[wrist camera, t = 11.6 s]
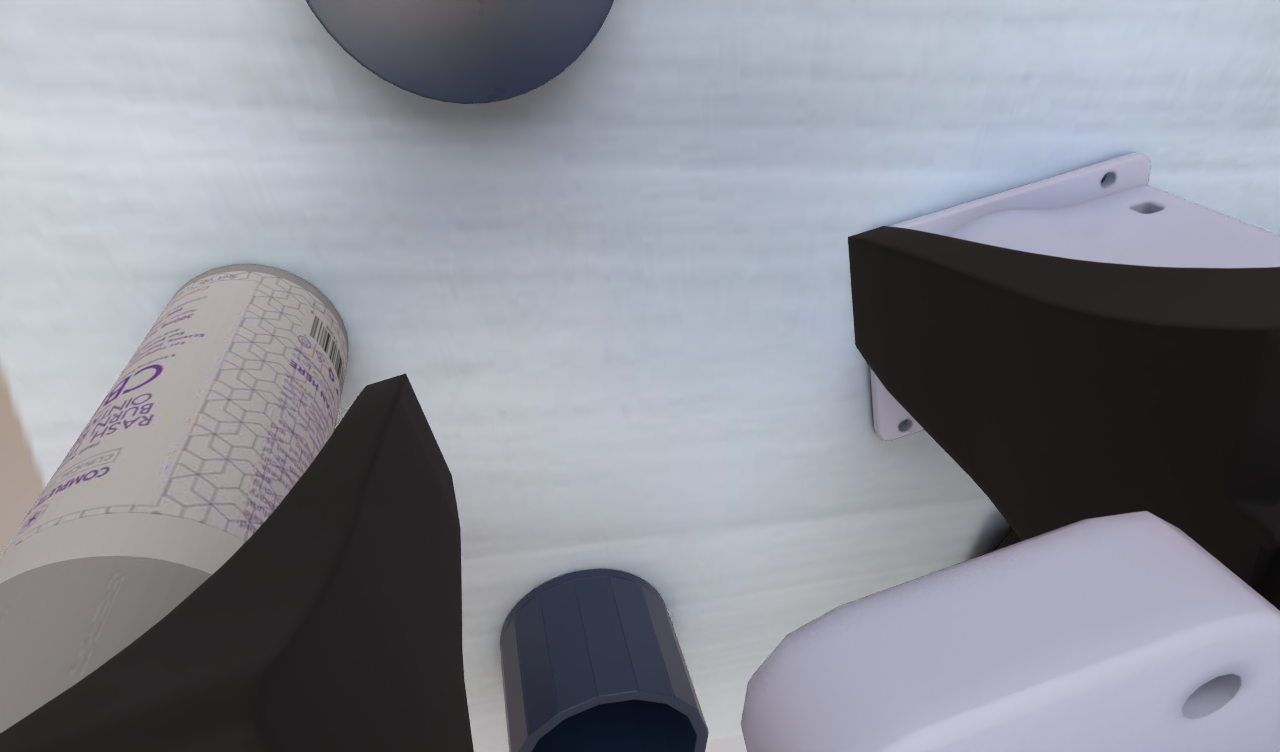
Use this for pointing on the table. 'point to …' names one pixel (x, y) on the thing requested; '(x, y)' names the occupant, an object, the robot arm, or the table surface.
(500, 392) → the table surface
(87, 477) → the container
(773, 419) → the table surface
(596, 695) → the tin
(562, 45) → the lid
